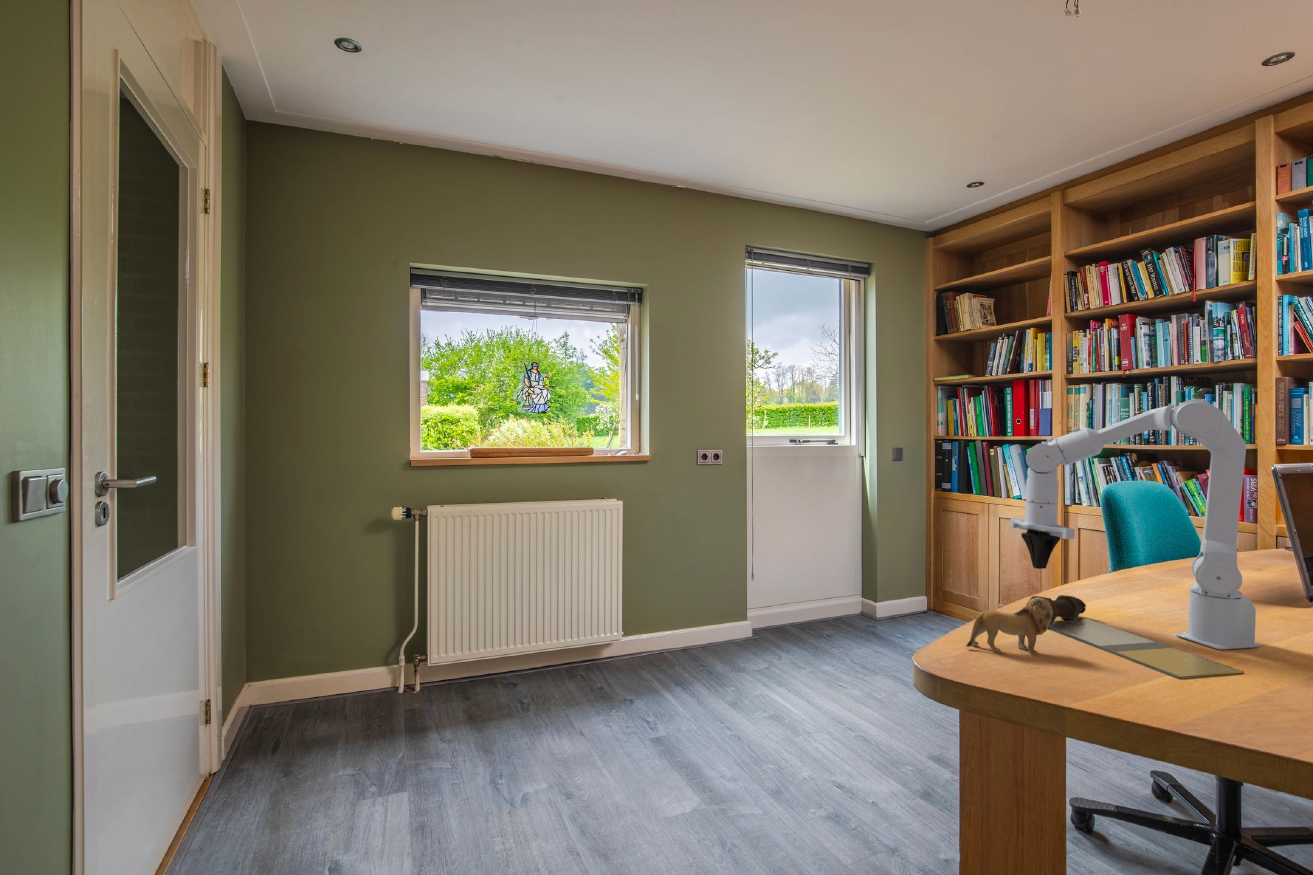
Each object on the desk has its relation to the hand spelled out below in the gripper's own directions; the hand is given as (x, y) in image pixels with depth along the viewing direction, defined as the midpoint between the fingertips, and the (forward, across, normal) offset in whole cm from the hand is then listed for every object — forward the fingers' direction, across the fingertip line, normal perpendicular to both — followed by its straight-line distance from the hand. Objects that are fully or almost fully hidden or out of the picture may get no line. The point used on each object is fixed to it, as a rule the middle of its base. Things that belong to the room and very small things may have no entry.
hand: (1039, 567), depth 134 cm
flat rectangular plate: (+9, +20, 0) cm, 22 cm away
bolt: (+9, +6, 0) cm, 11 cm away
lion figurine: (+10, +18, -23) cm, 30 cm away
